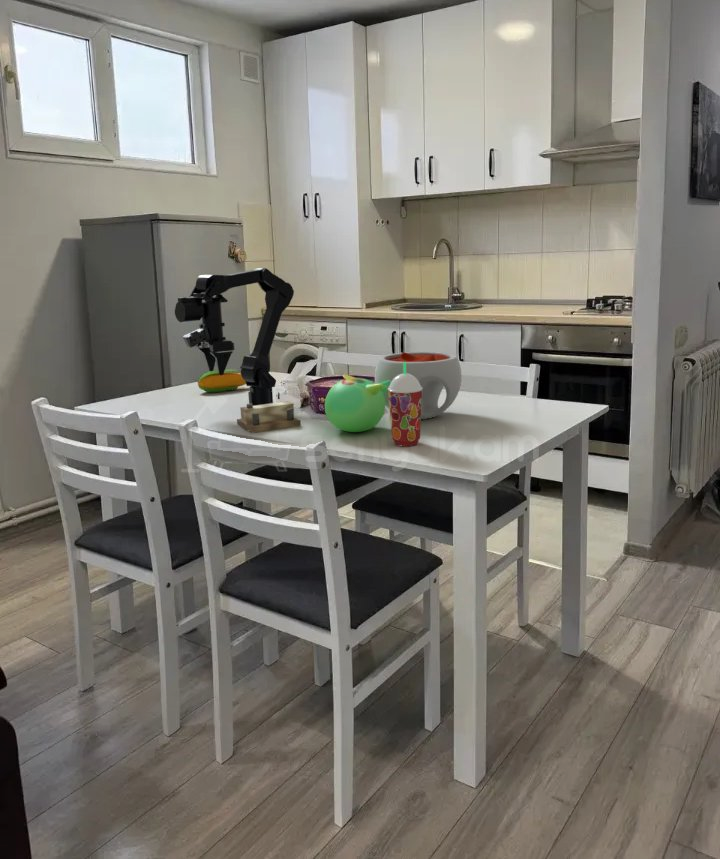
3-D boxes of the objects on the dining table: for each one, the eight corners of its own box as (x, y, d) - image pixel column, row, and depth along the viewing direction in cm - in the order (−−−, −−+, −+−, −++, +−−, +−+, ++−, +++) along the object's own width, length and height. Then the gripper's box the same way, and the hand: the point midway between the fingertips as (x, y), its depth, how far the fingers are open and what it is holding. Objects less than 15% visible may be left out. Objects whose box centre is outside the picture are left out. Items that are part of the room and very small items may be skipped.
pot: (400, 405, 231) (399, 346, 227) (474, 411, 219) (475, 349, 215) (360, 421, 211) (358, 357, 207) (439, 429, 199) (438, 361, 195)
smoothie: (421, 438, 190) (420, 358, 185) (425, 447, 182) (424, 364, 177) (387, 440, 190) (385, 360, 185) (390, 448, 181) (388, 365, 177)
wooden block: (288, 415, 215) (287, 397, 214) (294, 417, 212) (293, 399, 210) (241, 421, 209) (240, 403, 207) (246, 424, 205) (245, 406, 204)
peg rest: (283, 417, 219) (282, 402, 218) (300, 425, 208) (299, 409, 207) (237, 424, 212) (236, 408, 211) (252, 432, 202) (251, 416, 201)
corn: (193, 370, 262) (248, 364, 271) (195, 391, 264) (249, 385, 274) (200, 374, 256) (256, 368, 265) (201, 396, 258) (257, 389, 267)
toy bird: (333, 422, 211) (331, 370, 207) (394, 423, 208) (392, 369, 204) (319, 438, 193) (316, 381, 190) (385, 439, 191) (384, 381, 187)
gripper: (175, 319, 223) (180, 372, 227) (193, 323, 207) (198, 380, 211) (212, 316, 229) (216, 368, 232) (233, 320, 213) (237, 376, 216)
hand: (216, 373), depth 223 cm, fingers open, 9 cm apart
